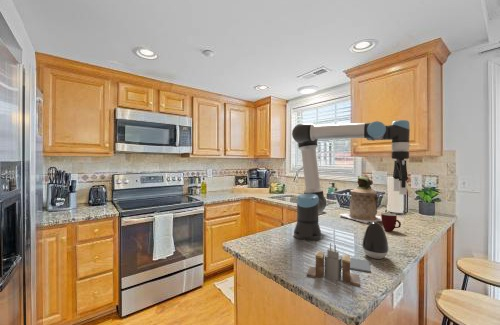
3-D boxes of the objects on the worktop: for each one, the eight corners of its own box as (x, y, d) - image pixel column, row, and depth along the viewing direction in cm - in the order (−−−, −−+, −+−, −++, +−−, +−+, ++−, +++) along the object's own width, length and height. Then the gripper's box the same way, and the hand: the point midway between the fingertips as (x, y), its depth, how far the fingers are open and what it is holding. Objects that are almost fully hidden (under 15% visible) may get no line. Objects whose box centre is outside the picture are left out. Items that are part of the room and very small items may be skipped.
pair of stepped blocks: (306, 276, 85) (306, 255, 85) (309, 268, 92) (309, 248, 92) (359, 286, 79) (359, 263, 78) (358, 276, 85) (359, 256, 85)
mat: (336, 266, 93) (336, 265, 93) (338, 257, 102) (338, 256, 102) (370, 272, 88) (370, 271, 88) (368, 262, 98) (368, 260, 98)
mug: (402, 231, 142) (402, 215, 142) (399, 234, 136) (399, 217, 136) (383, 228, 149) (383, 212, 149) (379, 230, 144) (379, 214, 144)
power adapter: (337, 280, 82) (337, 246, 82) (323, 275, 86) (324, 242, 86) (341, 278, 84) (342, 244, 84) (328, 272, 88) (328, 240, 88)
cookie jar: (367, 224, 158) (368, 177, 158) (338, 216, 180) (338, 175, 180) (389, 220, 170) (389, 176, 170) (359, 213, 192) (359, 174, 192)
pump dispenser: (379, 251, 109) (379, 219, 109) (393, 261, 99) (393, 225, 99) (357, 252, 109) (358, 219, 109) (370, 261, 98) (370, 225, 98)
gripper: (416, 149, 107) (415, 196, 107) (402, 152, 130) (402, 190, 130) (397, 149, 109) (396, 195, 109) (387, 152, 133) (386, 189, 133)
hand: (399, 192), depth 120 cm, fingers open, 13 cm apart
